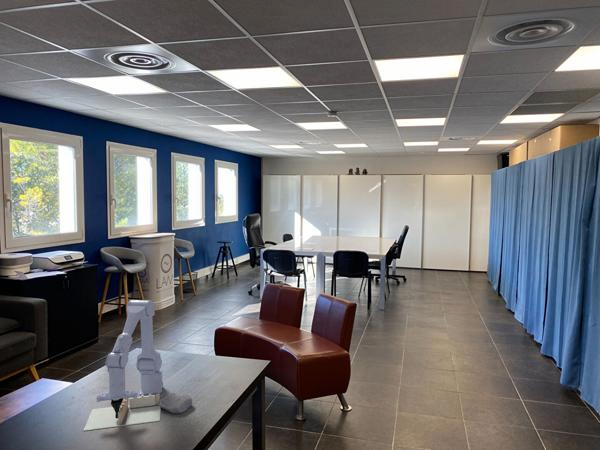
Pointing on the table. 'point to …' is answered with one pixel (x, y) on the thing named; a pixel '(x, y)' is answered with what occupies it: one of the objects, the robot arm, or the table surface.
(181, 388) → the table surface
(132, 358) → the table surface
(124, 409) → the fence panel
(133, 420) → the card
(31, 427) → the table surface
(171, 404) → the stone block
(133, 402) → the fence fixed
